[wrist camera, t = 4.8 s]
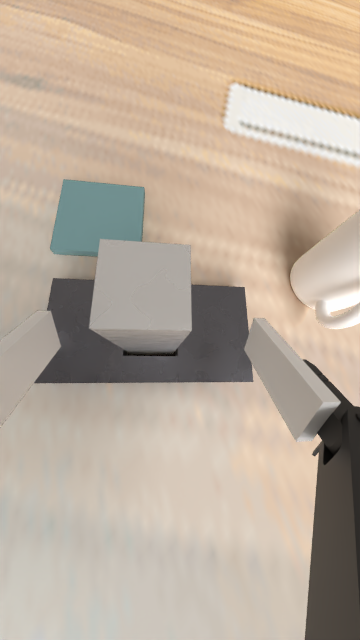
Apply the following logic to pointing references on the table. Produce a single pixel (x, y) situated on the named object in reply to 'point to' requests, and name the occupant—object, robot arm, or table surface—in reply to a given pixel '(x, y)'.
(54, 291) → the block
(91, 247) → the teal mat
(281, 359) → the robot arm
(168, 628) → the table surface
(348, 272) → the mug
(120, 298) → the steel peg
